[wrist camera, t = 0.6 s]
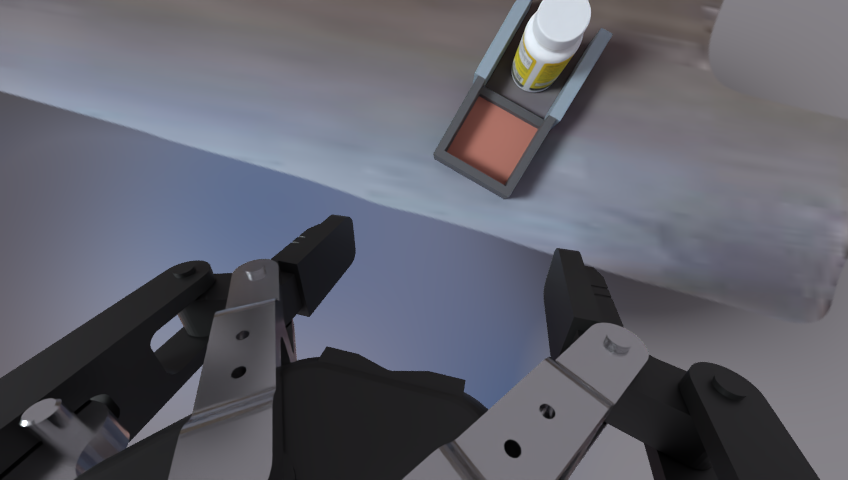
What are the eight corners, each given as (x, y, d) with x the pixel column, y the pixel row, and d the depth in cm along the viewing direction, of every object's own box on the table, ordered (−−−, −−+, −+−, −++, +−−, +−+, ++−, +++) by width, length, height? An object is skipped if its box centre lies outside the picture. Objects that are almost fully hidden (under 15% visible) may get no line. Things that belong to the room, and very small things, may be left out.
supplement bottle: (566, 58, 31) (609, -3, 23) (544, 101, 32) (578, 57, 23) (523, 38, 31) (550, -29, 23) (502, 81, 32) (521, 31, 23)
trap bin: (504, 199, 32) (508, 197, 30) (434, 159, 33) (433, 153, 30) (548, 127, 32) (556, 118, 29) (476, 86, 32) (478, 75, 29)
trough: (551, 128, 32) (560, 120, 29) (472, 84, 32) (474, 73, 30) (599, 49, 31) (613, 34, 28) (518, 4, 31) (524, -15, 29)
